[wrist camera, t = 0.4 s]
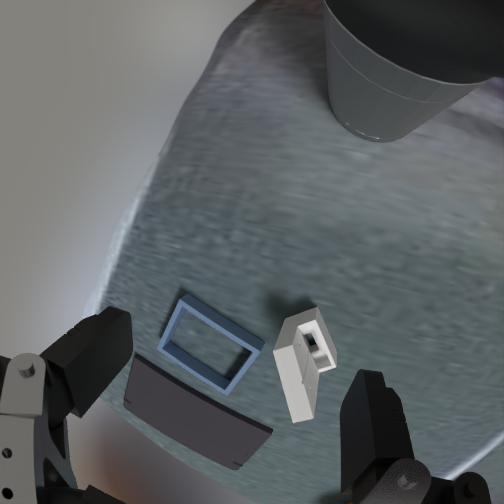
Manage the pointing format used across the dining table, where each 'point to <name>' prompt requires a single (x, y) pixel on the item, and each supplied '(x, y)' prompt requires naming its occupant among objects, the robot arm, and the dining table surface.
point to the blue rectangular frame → (222, 326)
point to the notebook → (191, 416)
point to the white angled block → (303, 361)
